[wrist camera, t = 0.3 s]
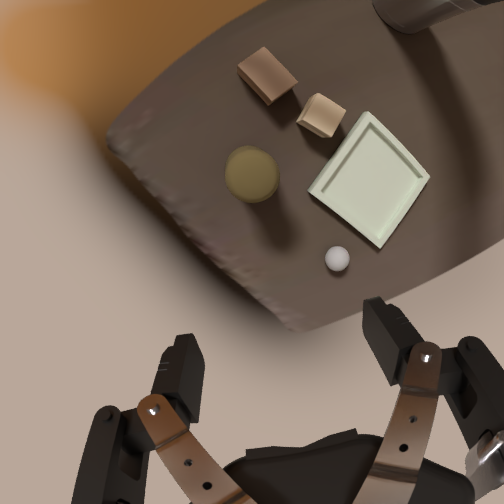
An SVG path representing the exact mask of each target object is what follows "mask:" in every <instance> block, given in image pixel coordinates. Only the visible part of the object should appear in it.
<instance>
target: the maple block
mask: <svg viewBox="0 0 504 504" xmlns="http://www.w3.org/2000/svg"><path fill="white" fill-rule="evenodd" d="M345 112H346V110H345V109H343V108H342V107H340V106H339V105H337V104H336V103H334V102H332V101H331V100H329V99H328V98H326V97H324V96H323V95H321V94H319V93H317V94H315V95H313V96H312V97H310V98H309V100H308V101H307V103H306V105H305V107H304V109H303V110H302V112H301V114H300V116H299V117H298V119H297V121H296V123H298V124H300V125H302V126H303V127H305V128H307V129H308V130H310V131H312V132H314V133H315V134H317V135H319V136H320V137H322V138H324V137H332V136H333V134H334V132H335V130H336V128H337V126H338V125H339V123H340V121H341V119H342V117H343V116H344V114H345Z"/></svg>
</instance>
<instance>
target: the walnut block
mask: <svg viewBox="0 0 504 504" xmlns="http://www.w3.org/2000/svg"><path fill="white" fill-rule="evenodd" d="M237 74H238V75H239V76H240V77H241V78H242V79H243V80H244V81H245V82H246V83H247V84H248V85H249V86H250V87H251V88H252V89H253V90H254V91H255V92H256V93H257V94H258V95H259V96H260V97H261V99H262V100H263V101H264V102H265V103H266V104H267V105H268V106H269V105H270V104H272V103H273V102H274V101H276V100H277V99H278V98H280V97H281V96H282V95H284V94H285V93H286V92H288V91H289V90H291V89H292V88H293V87H294V86H295V85H296V84H297V83H298V82H297V80H296V79H295V78H294V77H293V76H292V75H291V74H290V73H289V72H288V71H287V70H286V69H285V67H284V66H283V65H282V64H281V63H280V62H279V61H278V60H277V59H276V58H275V57H274V56H273V55H272V54H271V53H270V52H269V51H268V50H267V49H266V48H265V47H263V48H261V49H260V50H258V51H257V52H255V53H254V54H252V55H251V56H249V57H248V58H247V59H245V60H244V61H242V62H241V63H240V64H238V65H237Z"/></svg>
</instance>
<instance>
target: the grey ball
mask: <svg viewBox="0 0 504 504" xmlns="http://www.w3.org/2000/svg"><path fill="white" fill-rule="evenodd" d="M325 261H326V264H327V266H328V267H329V268H330V269H331V270H334V271H341V270H343V269H345V268H346V267H347V265H348V263H349V254H348V252H347V251H346V250H345V249H344V248H343V247H340V246H335V247H332V248H330V249H329V250H328V252H327V253H326V256H325Z"/></svg>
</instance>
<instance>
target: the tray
mask: <svg viewBox="0 0 504 504" xmlns="http://www.w3.org/2000/svg"><path fill="white" fill-rule="evenodd" d="M429 178H430V176H429V175H428V173H427V172H426V171H425V170H424V169H423V167H422V166H421V165H420V164H419V163H418V162H417V160H416V159H415V158H414V157H413V156H412V155H411V154H410V153H409V151H408V150H407V149H406V148H405V147H404V146H403V145H402V144H401V143H400V142H399V141H398V140H397V139H396V138H395V137H394V136H393V135H392V134H391V133H390V132H389V131H388V130H387V129H386V128H385V127H384V126H383V125H382V124H381V123H380V122H379V121H378V120H377V119H376V118H375V117H374V116H373V115H372V114H371V113H370V112H363V113H362V115H361V116H360V118H359V119H358V121H357V122H356V123H355V125H354V126H353V128H352V129H351V130H350V132H349V133H348V135H347V136H346V137H345V139H344V140H343V141H342V143H341V144H340V146H339V147H338V148H337V150H336V151H335V153H334V154H333V155H332V157H331V158H330V160H329V161H328V162H327V164H326V165H325V167H324V168H323V169H322V171H321V172H320V173H319V175H318V176H317V178H316V179H315V180H314V182H313V183H312V184H311V186H310V187H309V189H308V190H307V191H308V192H310V193H311V194H312V195H314V196H315V197H316V198H318V199H319V200H320V201H322V202H323V203H324V204H326V205H327V206H328V207H329V208H331V209H332V210H333V211H335V212H336V213H337V214H338V215H340V216H341V217H342V218H343V219H345V220H346V221H347V222H348V223H350V224H351V225H352V226H353V227H355V228H356V229H357V230H358V231H359V232H361V233H362V234H363V235H364V236H365V237H367V238H368V239H369V240H370V241H371V242H373V243H374V244H375V245H376V246H377V247H379V248H381V247H382V246H383V244H384V243H385V242H386V240H387V239H388V238H389V236H390V235H391V234H392V232H393V231H394V230H395V228H396V227H397V225H398V224H399V223H400V221H401V220H402V218H403V217H404V215H405V214H406V213H407V211H408V210H409V208H410V207H411V205H412V204H413V202H414V201H415V199H416V198H417V196H418V195H419V193H420V192H421V190H422V189H423V187H424V185H425V184H426V182H427V181H428V179H429Z"/></svg>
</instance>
